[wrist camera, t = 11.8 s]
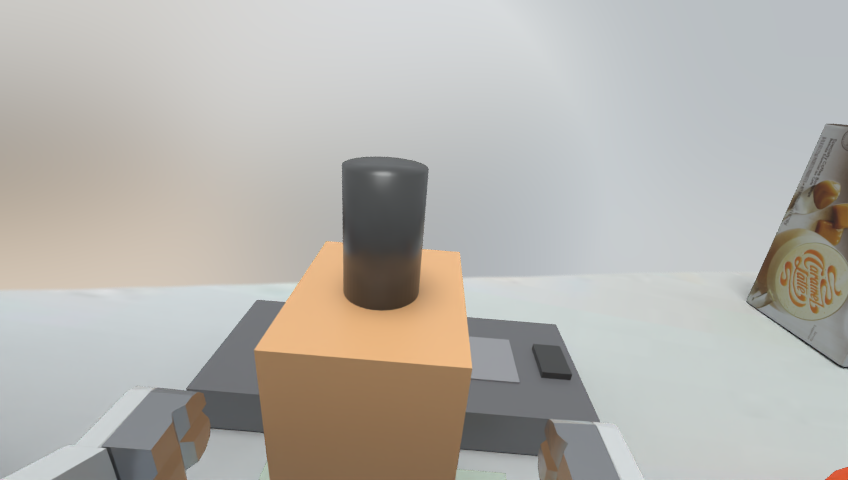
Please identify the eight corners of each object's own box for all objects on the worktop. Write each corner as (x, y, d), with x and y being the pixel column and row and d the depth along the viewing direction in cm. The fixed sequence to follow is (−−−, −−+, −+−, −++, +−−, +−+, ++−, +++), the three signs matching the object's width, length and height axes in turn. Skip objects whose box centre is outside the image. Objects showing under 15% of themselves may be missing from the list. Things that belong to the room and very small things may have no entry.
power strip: (194, 426, 20) (184, 382, 19) (260, 330, 27) (256, 294, 26) (588, 459, 20) (603, 417, 19) (548, 354, 27) (556, 319, 26)
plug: (292, 668, 12) (234, 192, 6) (333, 502, 17) (323, 139, 11) (424, 680, 12) (496, 213, 6) (428, 510, 17) (471, 151, 11)
